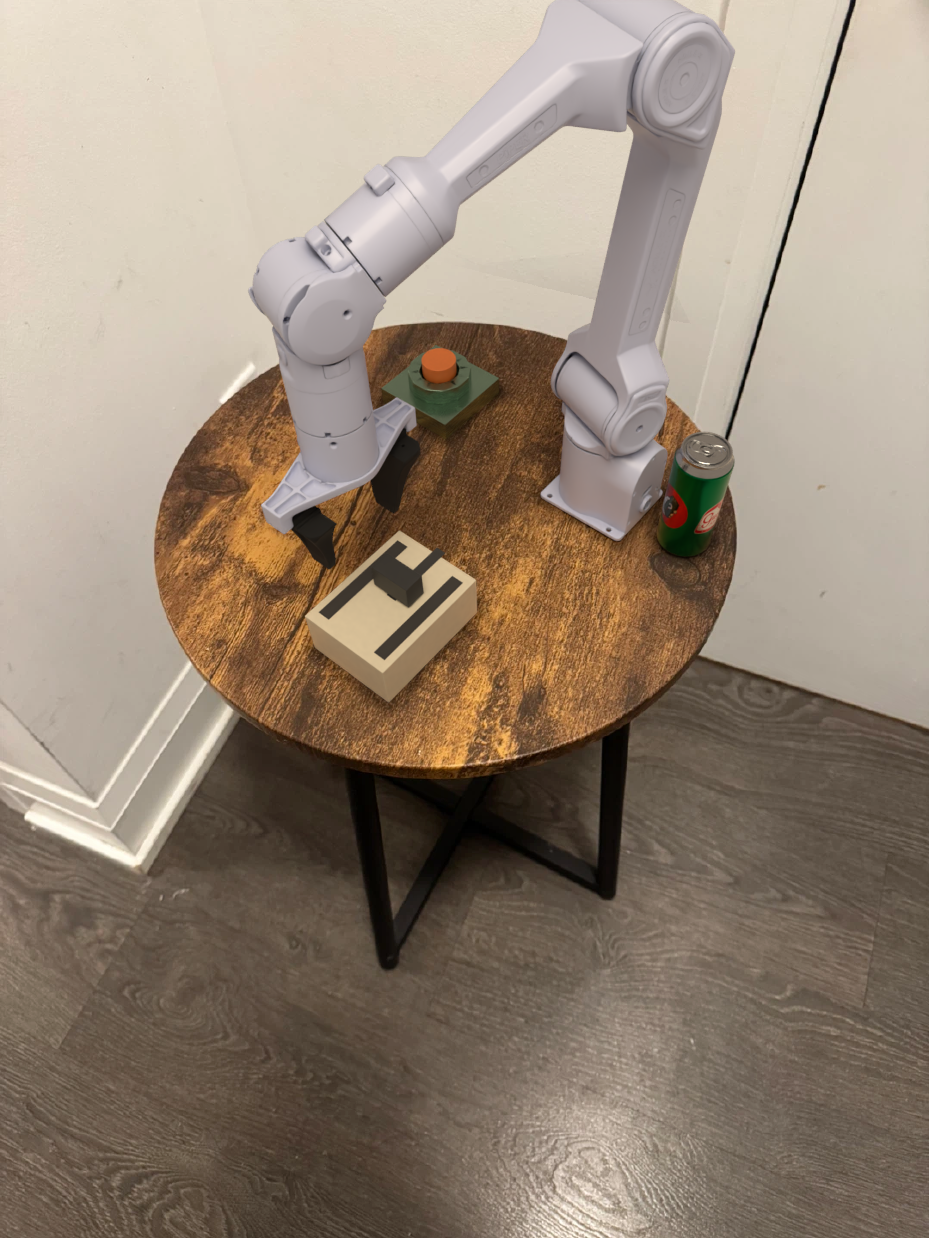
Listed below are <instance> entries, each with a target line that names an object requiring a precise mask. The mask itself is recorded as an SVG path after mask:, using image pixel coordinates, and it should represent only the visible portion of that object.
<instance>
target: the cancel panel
mask: <svg viewBox="0 0 929 1238" xmlns="http://www.w3.org/2000/svg"><path fill="white" fill-rule="evenodd" d="M435 348H442V347H441V346H439V345H437V344H434V345H433V346H432V347H431V348H430V349H429V350H431V349H435ZM449 350H450V351H451V352H453V353H454V355H455V357H456V370H457V372H456V375H455V377H454V378H453V379H452V380H451V381H448V382H445V383H441V384H440V383H431V382H429V381H427V380H426V379H425V378H424V376H423V373H422V357H423V355H424V354H425V353H426V352H427V351H425V352H421V353H420V354H419V355H417V357H415V358H414V359H412V360H411V361H410V364H409V366H407V367H405V368H404V369H403V370H402V371H401V372H400V373H398V374H397V375H396V376H395V377H393V378H392V379H391V380H390V381H388V382H387V383H386V384H385V385H384V386H382V387H381V388H380V390H381V397H382V404H383V405H386V404H387V403H389V402H391V401H392V400H393V399H395V398H396V397H397V398H399V399H401V400H403V401H404V402H406V403H408V404H410V405H411V406H413V407H415V413H416V424H417V425H420V426H422V427H423V428H425V429H427V430H428V431H430V432H431V433H434V434H435V435H437V436H439V437H440V438H442V439H444V440H448V439H449V438H450V437H451V436H452V435H454V433H456V432H457V431H458V430H459V429H460V428H461V427H463V425H464V424H466V423H467V422H468V421H469V420H470V419H472V418H473V417H474V416H475V415H476V414H477V413H479V412H480V411H481V410H482V409H483V408H485V406H487V405H488V404H489V403H490V402H491V401H493V399H494V398H496V397H497V396H498V395H500V378H499V377H498V376H496V375H495V374H493V373H491V372H489V371H487V370H485V369H483V368H482V367H479V366H477V365H475V364H473V363H471V362H470V361H468V359H467V357H466V356H464V355H462V354H460V353H458V352H457V351H454V350H451V349H449Z"/></svg>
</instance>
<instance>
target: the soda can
mask: <svg viewBox="0 0 929 1238" xmlns="http://www.w3.org/2000/svg"><path fill="white" fill-rule="evenodd" d="M735 462H736V461H735V456H734V450H733V447H732V444H731V443H730V442H729V441H728V439H726V437H723V436H722V435H720V434H718V433H715V432H711V431H697V432H694V433H691V434H689V435H688V436H686V437H684V439H683V441H682V442H681V443H680V444H679V445H678V446H677V447H676V448H675V451H674V455H673V459H672V464H671V468H670V471H669V478H668V481H667V485H666V488H665V489H666V490H665V494H664V498H663V502H662V507H661V511H660V515H659V520H658V523H657V524H658V525H657V528H656V539H657V541H658V543H659V544H660V546H661V547H662V548H663V549H664V550H665V551H666V552H668V553H670V554H672V555H675V556H678V557H683V558H685V557H694V556H697V555H700V554H701V553H703V552H704V551H706V550H707V549H708V547H709V546H710V544H711V541H712V537H713V534H714V531H715V528H716V525H717V521H718V518H719V515H720V512H721V509H722V505H723V502H724V500H725V496H726V493H727V489H728V487H729V483H730V480H731V476H732V473H733V471H734V467H735V464H736V463H735Z"/></svg>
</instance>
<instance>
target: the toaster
mask: <svg viewBox="0 0 929 1238" xmlns="http://www.w3.org/2000/svg"><path fill="white" fill-rule="evenodd" d="M386 553H388V554H390V555H391V556H393V557H394V558H396V559H397V560H399V561H400V562H402V563H403V564H405V565H406V566H408V567H409V568H411V569H412V570H414V571H415V572H417V573H418V574H420V575H421V576H422V582H423V590H424V593H423V594H422V595H421V596H420V597H419V598H418V599H417V600H416V601H415V602H414V603H413V604H412V605H411V606H410V607H409V608H408V607H407V606H405V605H404V604H402V603H401V602H399V601H398V600H397V599H395V598H394V597H392V596H391V595H389V594H388V593H386V592H385V591H383V590H382V589H380V588H379V587H378V586H376V585H375V584H374V580H373V574H372V569H371V567H372V566H373V565H374V564H375V563H376V562H377V561H378V560H379V559H380V558H381V557H383V556H384V555H385V554H386ZM445 555H446V552H445V551H443V550H441V549H440V548H439V547H435V549H434V550H431V549H429V548H428V547H427V546H424V545H423V544H421V543H420V542H418V541H417V540H415V539H413V538H412V537H411V536H409V535H407V534H405V532H403V531H401V530H398V531H397V532H395V533H394V534H393V536H391V537H390V538H389V539H388V540H386V542H384V544H382V545H381V546H380V547H379V548H378V549H377V550H376V551H375V552H374V553H372V554H371V555H370V556H369V557H368V558H367V559H366V560H365V561H364V562H363V563H362V564H361V565H359V566H358V567H357V568H355V570H354V571H353V572H351V574H349V575H348V576H347V577H346V578H345V579H344V580H343V581H342V582H341V583H339V584H338V585H337V586H336V587H335V588H334V589H333V590H332V591H330V592H329V593H328V594H327V595H326V596H325V597H324V598H323V599H322V600H321V601H320V602H319V603H318V604H316V605H315V606H314V607H313V608H312V609H311V610H310V611H308V613H306V614H305V615H304V618H305V621H306V624H307V628H308V631H309V634H310V637H311V640H312V643H313V646H314V648H315V649H316V650H317V651H318V652H320V653H321V654H323V655H324V656H325V657H327V658H328V659H330V660H331V661H332V662H334V663H335V664H336V665H337V666H339V667H340V668H341V669H343V670H344V671H345V672H347V673H348V674H350V675H351V676H352V677H353V678H355V679H356V680H357V681H359V682H360V683H361V684H363V685H364V686H365V687H367V688H368V689H369V690H371V691H372V692H373V693H374V694H376V695H378V696H379V697H380V698H382V699H383V700H384V701H386V702H387V703H390V702H391V701H392V700H393V699H394V698H395V697H396V696H397V695H398V694H399V693H400V692H401V691H402V690H403V689H404V688H405V687H406V686H407V685H408V684H409V683H410V681H412V680H413V679H414V678H415V677H416V676H417V675H418V674H419V672H421V670H423V668H424V667H425V666H426V665H428V664H429V663H430V662H431V660H432V659H433V658H434V657H435V656H437V654H438V653H439V652H440V651H441V650H442V649H443V648H444V647H445V646H446V645H447V644H448V643H449V642H450V641H451V640H453V638H454V637H455V636H456V635H457V634H458V633H459V632H460V631H461V630H462V629H463V628H464V627H465V626H466V625H467V624H468V623H469V622H470V620H472V618H474V616H475V615H476V614H477V613H478V593H477V592H478V590H477V579H475V578H474V577H473V576H471V575H469V574H468V573H467V572H465V571H464V570H462V569H460V568H458V567H457V566H455V565H454V564H452V563H451V562H450V561H448V560H446V559H444V558H443V557H444V556H445Z"/></svg>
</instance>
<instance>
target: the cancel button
mask: <svg viewBox="0 0 929 1238" xmlns="http://www.w3.org/2000/svg"><path fill="white" fill-rule="evenodd" d="M430 349H431V348H430ZM430 349H429V350H427V351H425V352H426V353H425V354H424V355H423V357H422V373H423V376H424V378H425V379H426V380H427V381H429V382H431V383H440V384H441V383H445V382H448V381H451V380H452V379H453V378H454V377H455V375H456V372H457V370H456V357H455V355H454V353H453V352H451V351H450V350H451V349H447V348H445V347H444V348H443V347H441V348H435V349H431V350H430Z"/></svg>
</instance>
